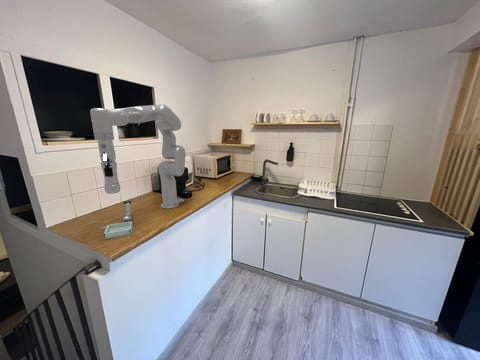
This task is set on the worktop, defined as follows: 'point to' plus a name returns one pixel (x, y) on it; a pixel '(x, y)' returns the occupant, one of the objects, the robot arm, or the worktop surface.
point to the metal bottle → (111, 179)
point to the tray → (118, 230)
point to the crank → (128, 209)
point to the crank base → (123, 221)
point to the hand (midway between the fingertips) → (110, 174)
